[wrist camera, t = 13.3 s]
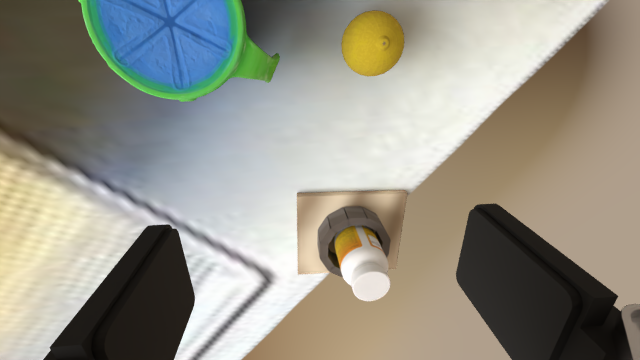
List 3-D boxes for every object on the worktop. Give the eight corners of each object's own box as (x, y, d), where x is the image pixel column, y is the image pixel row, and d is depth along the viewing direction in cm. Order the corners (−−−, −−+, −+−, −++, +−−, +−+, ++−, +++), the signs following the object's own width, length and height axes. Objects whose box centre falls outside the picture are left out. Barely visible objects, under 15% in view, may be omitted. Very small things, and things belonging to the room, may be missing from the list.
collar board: (404, 190, 39) (416, 204, 35) (393, 264, 43) (403, 283, 40) (296, 193, 37) (298, 208, 34) (297, 269, 42) (298, 290, 38)
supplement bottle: (330, 251, 40) (343, 307, 31) (334, 216, 38) (349, 266, 29) (369, 251, 41) (392, 306, 32) (374, 216, 39) (401, 265, 30)
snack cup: (102, 33, 28) (13, 23, 19) (142, -82, 25) (60, -159, 16) (250, 117, 33) (236, 143, 24) (298, 29, 30) (304, 18, 21)
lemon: (346, 7, 30) (366, -8, 22) (395, 28, 31) (429, 20, 24) (328, 63, 32) (341, 66, 24) (374, 80, 33) (400, 88, 25)
